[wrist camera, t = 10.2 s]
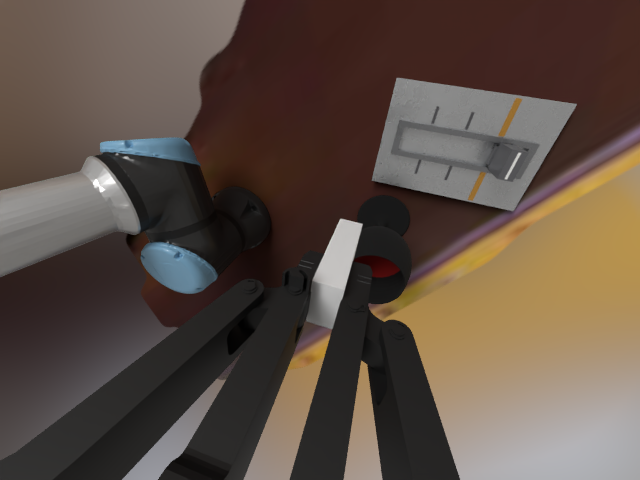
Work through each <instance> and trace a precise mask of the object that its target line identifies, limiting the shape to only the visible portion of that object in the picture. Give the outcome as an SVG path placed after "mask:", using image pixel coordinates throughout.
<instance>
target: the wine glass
mask: <svg viewBox="0 0 640 480" xmlns="http://www.w3.org/2000/svg"><path fill="white" fill-rule="evenodd" d="M357 220H358V223H361V224H363V225H362V229H361V233H360V237H359V241H358V245H357V249H356V253H355V257H354V260H353V261H354V262H358V263H362V264H366V265H369V266H370V267H371V269H372V272H373V273H372V279H371V287H370V293H369V300H368V303H371V304H384V303H388V302H391V301H393V300H395V299H396V298H398V297H399V296H400V295H401V294H402V292H403V291H404V289H405V287H406V285H407V282H408V280H409V277H410V273H411V267H412V261H411V254H410V250H409V248H408V245H407V244H406V242H405V240H404V239H403V238H402V237H401V236H402V235H403V234H404V233H405V232H406V230H407V228H408V226H409V221H410V217H409V212H408V210H407V208H406V206H405V205H404V204H403V203H402V202H401V201H400V200H398V199H396V198H394V197H391V196H385V195H382V196H375V197H373V198H370V199H369V200H367V201H366V202H365V203H364V204H363V205H362V206H361V208H360V210H359V212H358V218H357Z"/></svg>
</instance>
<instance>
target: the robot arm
mask: <svg viewBox="0 0 640 480" xmlns="http://www.w3.org/2000/svg"><path fill="white" fill-rule="evenodd" d="M100 151H101V152H102V153H103V154H102V155H96V156H91V157H88V158H87V159H86V162H85V164H84V166H83V168H82V170H81V171H80V172H78V173H73V174H69V175H65V176H61V177H57V178H52V179H48V180H44V181H40V182H35V183H31V184H27V185H23V186H19V187H14V188H10V189H6V190H1V191H0V277H1V276H4V275H6V274H9V273H11V272H14V271H16V270H19V269H21V268H24V267H26V266H28V265H31V264H34V263H36V262H39V261H41V260H44V259H47V258H49V257H52V256H54V255H57V254H59V253H62V252H64V251H67V250H69V249H72V248H74V247H77V246H79V245H82V244H84V243H87V242H89V241H92V240H95V239H97V238H100V237H102V236H105V235H107V234H110V233H112V232H115V231H122V232H126V233H130V234H134V235H135V234H139V233H141V232H143V231H145V233H146V235H147V237H148V239H149V241H150V243H148V244H147V245H145V247H144V248H143V250H142V252H141V254H142V255H141V260H142V263H143V265H144V267H145V268H146V270H147V271H148V272H149V273H150V274H151V275H152V276H153V277H154V278H155V279H156V280H157V281H159V282H160V283H161V284H163V285H165V286H167V287H168V288H170V289H172V290H175V291H178V292H181V293H188V294H192V293H198V292H200V291H202V290H204V289H205V288H206V287H207V286H208V285H210V284H211V283H212V282H214V281H215V280H216V279H217V277H218V276H219V275H220V274H221V273H222V272H223V271H224V270H225V269H226V268H227V267H228V266H229V265H230V264H231V263H232V262H233V261H234V260H235V258H236V257H237V256H238V255H239V254H240V253H241V252H243V251H246V250H248V249H249V248H253V247H256V246H258V245H259V244H260V243H261V242H262V241H263V240H264V239H265V238H266V237H267V236H268V234H269V231H270V227H271V221H270V216H269V213H268V210H267V208H266V207H265V205H264V204H263V202H262V201H261V200H260V199H259V198H258V197H257V196H256V195H255V194H253V193H252V192H250V191H248V190H246V189H244V188H241V187H227V188H225V189H223V190H221V191H219V192H217V193H216V194H215V195H214V196H213V197H212V198H211V196H210V193H209V190H208V188H207V185H206V182H205V179H204V176H203V174H202V171H201V168H200V166H201V165H200V163H199V162H198V161H197V158H196V156H195V154H194V151H193V149H192V146H191V145H190V143H189V142H188V141H186V140H185V139H182V138H153V139H139V140H138V139H137V140H123V141H109V142H102V143H101V144H100ZM362 225H363V224H361V223H357V222H352V221H348V220H344V219H340V221H339V223H338V225H337V227H336V229H335V232H334V234H333V236H332V238H331V240H330V243H329V245H328V247H327V249H326V251H325V254H322V253H318V252H314V251H311V250H310V251H309V252H307V253H306V254H304V256H303V258H302V259H301V261H300V263H299V265H298V266H297V267H294V268H289V269H286V270H285V271H284V272H283V276H282V286H281V287H278V288H264V286H263V284H262V283H261V282H260V281H258V280H255V279H246V280H242V281H240V282H239V283H237V284H236V285H235V286H233V287H232V288H231V289H229V290H228V291H227V292H225V293H224V294H223V295H222V296H220V297H219V298H218V299H216V300H215V301H214V302H212V303H211V304H210V305H208V306H207V307H206V308H204V309H203V310H202V311H201V312H199V313H198V314H197V315H195V316H194V317H193V318H191V319H190V320H189V321H187V322H186V323H185V324H183V325H182V326H181V327H180V328H178V329H177V330H176V331H174V332H173V333H172V334H170V335H169V336H168V337H166V338H165V339H164V340H162V341H161V342H160V343H159V344H157V345H156V346H155V347H153V348H152V349H151V350H149V351H148V352H147V353H145V354H144V355H143V356H142V357H140V358H139V359H138V360H136V361H135V362H134V363H132V364H131V365H130V366H128V367H127V368H126V369H124V370H123V371H122V372H121V373H119V374H118V375H117V376H115V377H114V378H113V379H111V380H110V381H109V382H107V383H106V384H105V385H103V386H102V387H101V388H100V389H98V390H97V391H96V392H94V393H93V394H92V395H90V396H89V397H88V398H86V399H85V400H84V401H83V402H81V403H80V404H79V405H77V406H76V407H75V408H73V409H72V410H71V411H70V412H68V413H67V414H66V415H64V416H63V417H61V418H60V419H59V420H58V421H57V422H55V423H54V424H53V425H51V426H50V427H48V428H47V429H46V430H45V431H43V432H42V433H41V434H39V435H38V436H37V437H35V438H34V439H33V440H31V441H30V442H29V443H27V444H26V445H25V446H23V447H22V448H21V449H20V450H18V451H17V452H16V453H14V454H12V455H10V456H8V457H6V458H4V459H3V460H1V461H0V480H122V479H123V478H124V477H125V476H126V475H127V473H128V472H129V471H130V470H131V469H132V468H133V467H134V466H135V465H136V464H137V462H139V461H140V460H141V459H142V457H143V456H144V455H145V454H146V453H147V452H148V451H149V450H150V449H151V448H152V447H153V446H154V445H155V444H156V443H157V442H158V440H159V439H160V438H161V437H162V436H163V435H164V434H165V433H166V432H167V431H168V430H169V429H170V428H171V427H172V425H173V424H174V423H175V422H176V421H177V420H178V419H179V418H180V417H181V416H182V415H183V414H184V413H185V411H187V409H189V407H190V406H191V405H192V404H193V403H194V402H195V401H196V400H197V399H198V398H199V397H200V395H202V394H203V392H204V391H205V390H206V389H207V388H208V387H209V386H210V385H211V384H212V383H213V382H214V381H215V380H216V379H217V378H218V377H219V376H220V374H221V373H222V372H223V371H224V370H225V369H226V368H227V367H228V366H229V365H230V364H231V363H232V362H233V361H234V360H235V358H236V357H237V356H238V355H239V354H240V353H241V352H242V351H243V350H244V351H243V353H242V354H241V356H240V358H239V359H238V361H237V363H236V364H235V366H234V368H233V369H232V371H231V373H230V375H229V376H228V378H227V380H226V381H225V383H224V385H223V387H222V388H221V390H220V392H219V393H218V395H217V397H216V398H215V400H214V402H213V403H212V405H211V407H210V409H209V410H208V412H207V413H206V415H205V417H204V419H203V420H202V422H201V424H200V425H199V427H198V429H197V431H196V432H195V434H194V435H193V437H192V439H191V441H190V442H189V444H188V446H187V447H186V449H185V450H184V452H183V453H182V454H181V455H180V456H179V457H178V458H176V459H175V460H173V461H172V462H171V463H170V464H169V465H168V466H167V468H166V469H165V470H164V472H163V473H162V474H161V476H160V477H159V479H158V480H243V479H244V477H245V474H246V472H247V469H248V467H249V464H250V462H251V459H252V457H253V454H254V452H255V449H256V447H257V444H258V442H259V439H260V437H261V434H262V432H263V429H264V427H265V424H266V422H267V419H268V416H269V414H270V411H271V409H272V406H273V404H274V401H275V399H276V396H277V394H278V391H279V389H280V386H281V384H282V381H283V379H284V376H285V374H286V371H287V369H288V366H289V364H290V361H291V359H292V356H293V354H294V351H295V349H296V346H297V344H298V341H299V339H300V336H301V334H302V331H303V326H304V322H305V319H306V321H307V322H311V323H314V324H317V325H320V326H323V327H327V328H330V329H332V333H331V336H330V340H329V343H328V347H327V350H326V354H325V357H324V361H323V364H322V368H321V371H320V375H319V378H318V382H317V385H316V389H315V392H314V396H313V399H312V403H311V406H310V410H309V413H308V417H307V421H306V424H305V427H304V431H303V435H302V439H301V442H300V445H299V449H298V453H297V456H296V460H295V463H294V466H293V470H292V473H291V477H290V480H343V479H344V472H345V465H346V458H347V452H348V444H349V438H350V432H351V425H352V418H353V411H354V404H355V398H356V391H357V384H358V377H359V370H360V364H361V360H362V361H363V362H365V363H366V364H368V373H369V381H370V389H371V396H372V404H373V411H374V419H375V426H376V434H377V440H378V448H379V456H380V463H381V471H382V478H383V480H460V478H459V475H458V472H457V469H456V466H455V463H454V460H453V456H452V454H451V450H450V447H449V444H448V441H447V438H446V435H445V432H444V429H443V426H442V423H441V420H440V417H439V414H438V410H437V408H436V404H435V401H434V398H433V395H432V392H431V389H430V386H429V383H428V380H427V377H426V374H425V370H424V367H423V364H422V361H421V358H420V355H419V352H418V349H417V346H416V343H415V340H414V337H413V334H412V332H411V330H410V329H409V328H408V327H407V326H406V325H405V324H404V323H402V322H400V321H397V320H388V321H386V322H383V321H382V320H380V319H378V318H377V317H375V316H374V315H373V314H372V313H371V311H370V310H369V307H368V300H369V293H370V287H371V279H372V273H373V272H372V269H371V267H370V266H369V265H366V264H362V263H358V262H354V261H353V260H354V257H355V253H356V249H357V245H358V241H359V237H360V233H361V229H362ZM306 317H307V318H306Z"/></svg>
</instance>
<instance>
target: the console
mask: <svg viewBox="0 0 640 480" xmlns="http://www.w3.org/2000/svg"><path fill="white" fill-rule="evenodd" d="M576 105H577V104H572V103H565V102H558V101H551V100H545V99H538V98H531V97H524V96H517V95H511V94H504V93H497V92H490V91H484V90H477V89H470V88H463V87H456V86H450V85H443V84H436V83H429V82H423V81H416V80H409V79H402V78H397V79H396V83H395V87H394V91H393V96H392V100H391V104H390V108H389V112H388V116H387V120H386V124H385V128H384V132H383V136H382V140H381V144H380V149H379V153H378V157H377V161H376V165H375V169H374V173H373V177H372V181H376V182H381V183H385V184H390V185H395V186H399V187H404V188H409V189H413V190H418V191H422V192H427V193H432V194H436V195H441V196H445V197H450V198H455V199H459V200H464V201H469V202H473V203H478V204H482V205H487V206H492V207H496V208H501V209H506V210H510V211H514V209H515V207H516V206H517V204H518V202H519V201H520V199H521V197H522V196H523V194H524V192H525V191H526V189H527V187H528V186H529V184H530V182H531V181H532V179H533V177H534V176H535V174H536V172H537V171H538V169H539V167H540V166H541V164H542V162H543V160H544V159H545V157H546V155H547V154H548V152H549V150H550V149H551V147H552V145H553V144H554V142H555V140H556V139H557V137H558V135H559V134H560V132H561V130H562V129H563V127H564V125H565V124H566V122H567V120H568V119H569V117H570V115H571V114H572V112H573V110H574V109H575V107H576ZM500 143H506V144H511V145H516V146H518V147H520V148H522V149H523V150H525V151H527V152H529V154H528V155H527V157H526V159H525V161H524V162H523V164H522V166H521V168H520V170H519V171H518V173H517V175H516V177H515V179H514V180H513V182H510V181H505V180H500V179H497V178H496V177H495V176H494V175H493V174H492V173H491V172H490V171H489V170H488V167H489V165H487V164H486V163H487V161H488V159H489V157H490V154H491V152H492V150H493V148H494V146H495V145H497V146H499V145H500Z"/></svg>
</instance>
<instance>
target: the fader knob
mask: <svg viewBox="0 0 640 480" xmlns="http://www.w3.org/2000/svg"><path fill="white" fill-rule="evenodd" d="M528 154H529V152H527V151H525V150H523V149H522V148H520V147H518V146H516V145H511V144H506V143H500V145H499V146H497V145H495V146H494V148H493V150H492V152H491V154H490V157H489V159H488V161H487V163H486V164H487V165H489V167H488V170H489V171H490V172H491V173H492V174H493V175H494V176H495V177H496V178H497V179H500V180H505V181H510V182H513V180H514V179H515V177H516V175H517V173H518V171H519V170H520V168H521V166H522V164H523V162H524V161H525V159H526V157H527V155H528Z"/></svg>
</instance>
